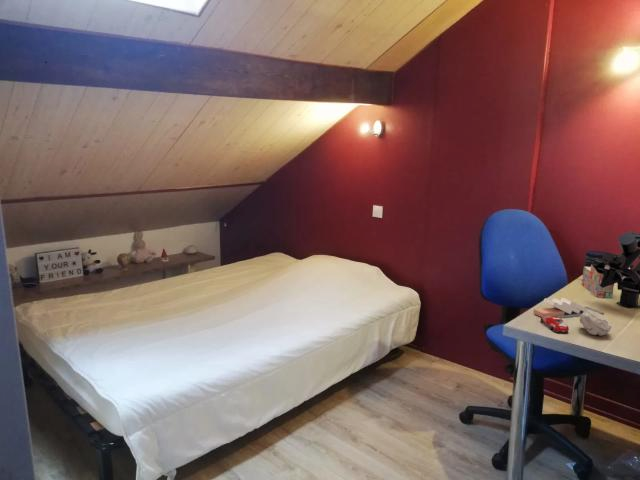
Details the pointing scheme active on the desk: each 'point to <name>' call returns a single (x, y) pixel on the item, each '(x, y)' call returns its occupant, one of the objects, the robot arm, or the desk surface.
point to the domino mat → (577, 313)
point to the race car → (555, 324)
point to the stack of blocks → (596, 283)
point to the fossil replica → (594, 323)
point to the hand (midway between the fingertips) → (601, 286)
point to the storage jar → (594, 257)
